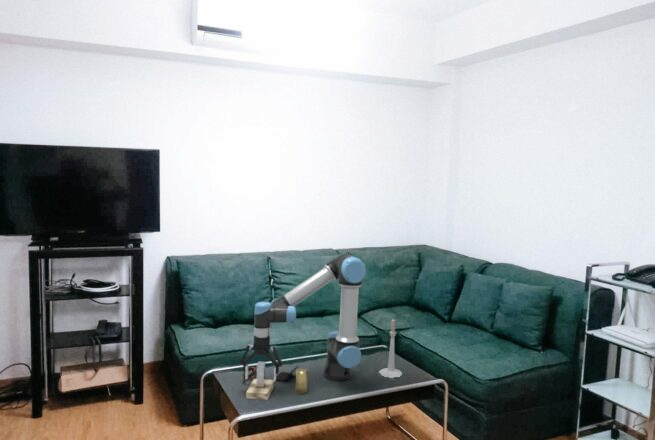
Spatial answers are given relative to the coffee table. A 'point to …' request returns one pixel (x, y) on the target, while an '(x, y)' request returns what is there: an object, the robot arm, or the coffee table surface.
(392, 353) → the candlestick
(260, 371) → the square steel bit
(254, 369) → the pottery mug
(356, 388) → the coffee table surface
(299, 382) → the round brass bit
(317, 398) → the coffee table surface
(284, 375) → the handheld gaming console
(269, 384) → the socket plate
